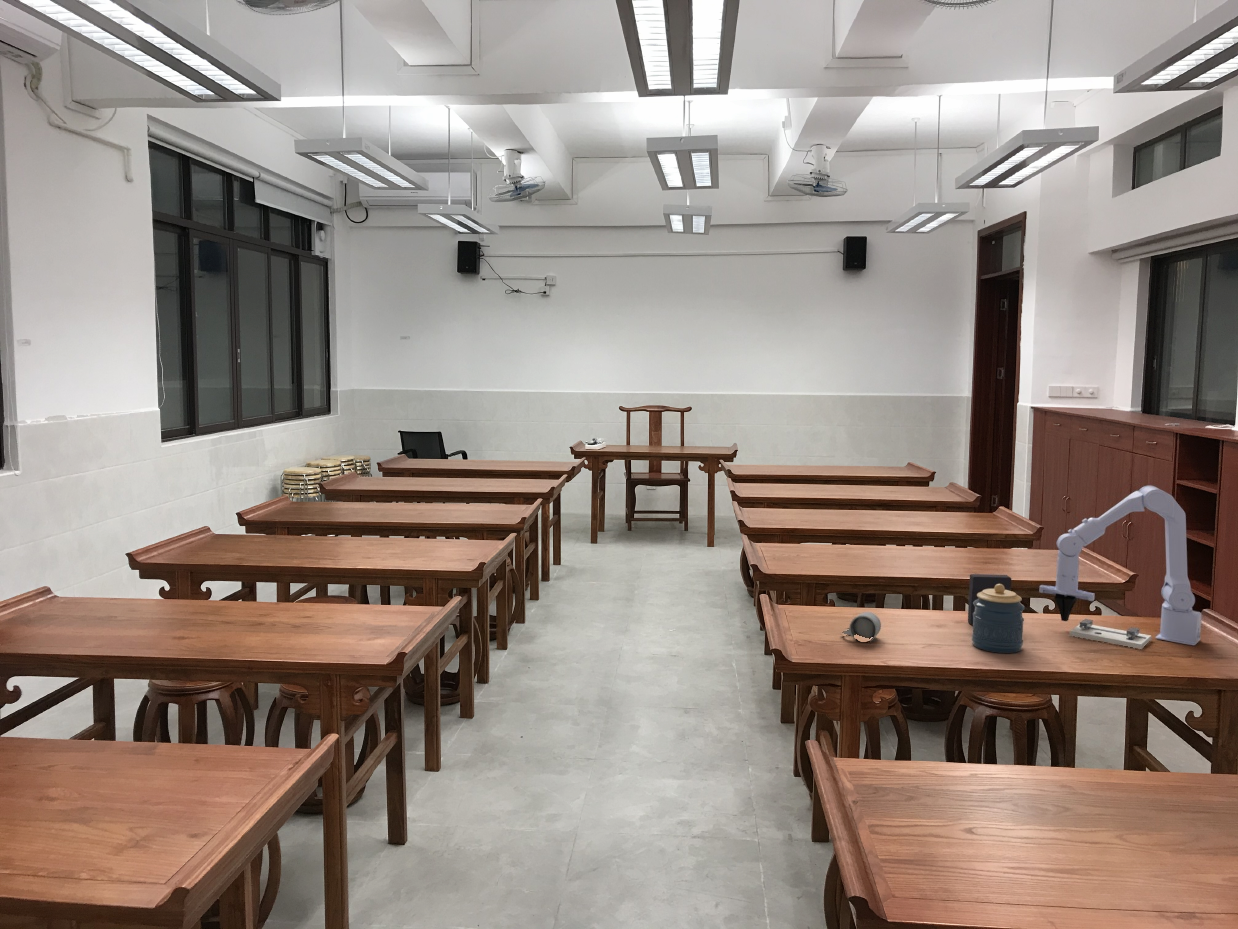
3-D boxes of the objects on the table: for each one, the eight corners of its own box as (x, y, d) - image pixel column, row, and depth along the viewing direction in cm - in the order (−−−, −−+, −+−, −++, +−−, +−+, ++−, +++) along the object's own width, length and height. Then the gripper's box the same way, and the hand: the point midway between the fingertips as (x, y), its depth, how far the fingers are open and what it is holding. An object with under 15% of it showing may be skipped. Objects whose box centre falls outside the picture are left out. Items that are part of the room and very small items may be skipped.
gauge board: (1150, 640, 246) (1151, 634, 246) (1140, 649, 238) (1141, 643, 238) (1081, 627, 259) (1081, 622, 259) (1069, 636, 251) (1070, 630, 251)
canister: (998, 656, 233) (1001, 591, 231) (961, 643, 244) (963, 581, 242) (1033, 650, 238) (1036, 587, 236) (995, 637, 250) (998, 576, 248)
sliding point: (1092, 625, 254) (1092, 620, 254) (1086, 629, 250) (1086, 624, 250) (1084, 624, 256) (1085, 618, 256) (1078, 628, 251) (1079, 622, 251)
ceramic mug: (882, 636, 250) (882, 610, 249) (876, 644, 243) (876, 617, 242) (844, 632, 255) (844, 606, 254) (838, 640, 247) (838, 613, 247)
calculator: (1004, 623, 264) (1006, 574, 262) (1009, 627, 260) (1011, 577, 258) (966, 621, 265) (968, 573, 263) (971, 626, 261) (973, 576, 259)
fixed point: (1139, 634, 246) (1139, 628, 246) (1133, 638, 242) (1133, 632, 242) (1131, 632, 247) (1131, 627, 247) (1125, 637, 243) (1125, 631, 243)
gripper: (1036, 573, 258) (1034, 618, 259) (1090, 581, 248) (1087, 628, 249) (1044, 569, 263) (1042, 613, 264) (1097, 577, 253) (1095, 623, 254)
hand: (1064, 620), depth 257 cm, fingers closed
